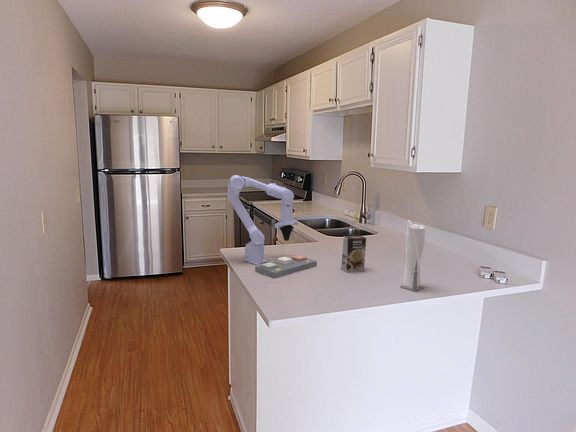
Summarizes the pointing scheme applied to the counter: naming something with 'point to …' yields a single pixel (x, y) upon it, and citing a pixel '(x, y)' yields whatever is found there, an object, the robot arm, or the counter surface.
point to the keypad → (287, 268)
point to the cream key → (284, 261)
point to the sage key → (269, 266)
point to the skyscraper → (413, 257)
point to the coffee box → (353, 253)
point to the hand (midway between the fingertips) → (286, 240)
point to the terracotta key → (298, 258)
